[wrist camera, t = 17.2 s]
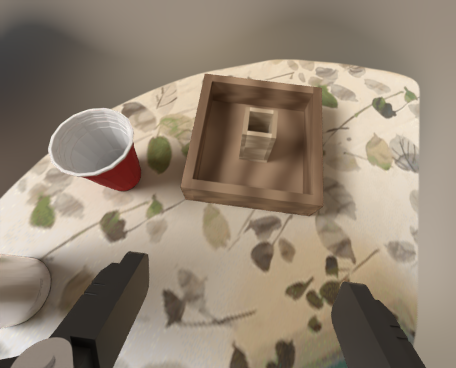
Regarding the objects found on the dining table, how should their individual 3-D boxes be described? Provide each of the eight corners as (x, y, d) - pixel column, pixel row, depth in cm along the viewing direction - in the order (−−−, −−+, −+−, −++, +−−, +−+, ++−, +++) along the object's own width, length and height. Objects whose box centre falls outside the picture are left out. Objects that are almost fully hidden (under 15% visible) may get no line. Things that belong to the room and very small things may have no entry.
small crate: (238, 159, 43) (242, 134, 36) (241, 135, 45) (245, 106, 37) (266, 162, 43) (276, 138, 35) (268, 138, 45) (278, 110, 37)
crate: (185, 199, 41) (180, 187, 36) (206, 97, 49) (204, 73, 43) (309, 215, 41) (323, 206, 35) (310, 109, 49) (321, 87, 43)
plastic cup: (149, 141, 45) (125, 96, 34) (161, 194, 41) (139, 163, 30) (89, 156, 44) (44, 114, 32) (96, 212, 40) (47, 186, 29)
